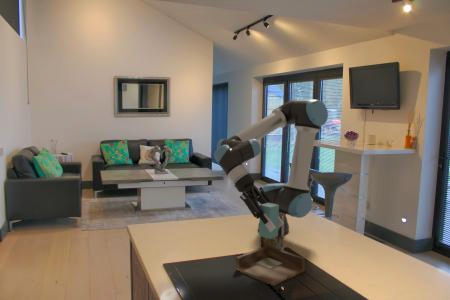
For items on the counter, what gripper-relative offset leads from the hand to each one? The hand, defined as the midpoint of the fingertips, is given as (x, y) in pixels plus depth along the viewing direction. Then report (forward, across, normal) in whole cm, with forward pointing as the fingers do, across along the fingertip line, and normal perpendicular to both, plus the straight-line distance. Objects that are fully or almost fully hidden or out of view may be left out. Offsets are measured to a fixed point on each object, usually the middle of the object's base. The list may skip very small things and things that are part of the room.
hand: (277, 227), depth 142 cm
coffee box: (+4, -15, -18) cm, 24 cm away
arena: (+11, +3, -12) cm, 16 cm away
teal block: (0, 0, -5) cm, 5 cm away
